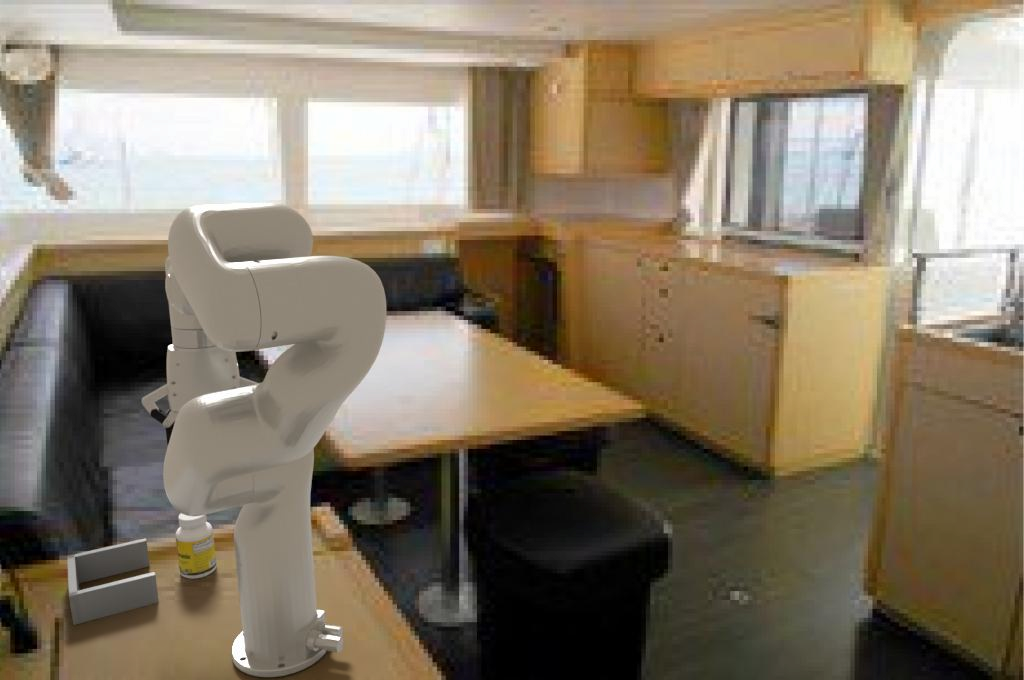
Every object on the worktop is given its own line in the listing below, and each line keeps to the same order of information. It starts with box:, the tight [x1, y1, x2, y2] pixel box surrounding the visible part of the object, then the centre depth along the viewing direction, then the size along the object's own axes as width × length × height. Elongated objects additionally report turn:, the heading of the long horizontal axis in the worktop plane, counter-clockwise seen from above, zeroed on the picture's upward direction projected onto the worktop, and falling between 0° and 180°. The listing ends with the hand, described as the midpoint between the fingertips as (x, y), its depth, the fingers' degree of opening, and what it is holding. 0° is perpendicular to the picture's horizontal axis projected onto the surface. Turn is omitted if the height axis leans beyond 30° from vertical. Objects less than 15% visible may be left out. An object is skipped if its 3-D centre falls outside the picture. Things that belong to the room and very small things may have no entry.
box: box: [66, 537, 160, 626], centre depth 115 cm, size 11×13×4 cm
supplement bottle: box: [175, 513, 217, 580], centre depth 120 cm, size 5×5×10 cm
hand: (209, 444), depth 117 cm, fingers open, 9 cm apart
